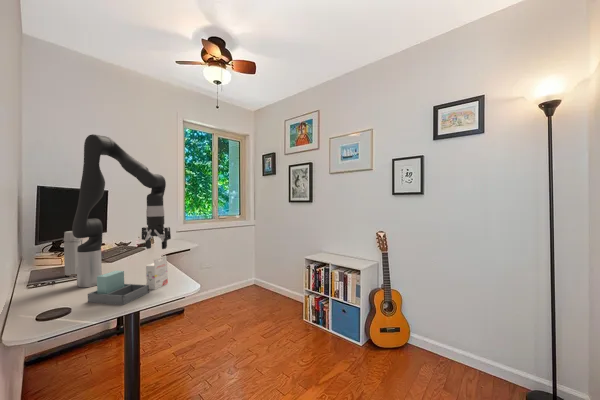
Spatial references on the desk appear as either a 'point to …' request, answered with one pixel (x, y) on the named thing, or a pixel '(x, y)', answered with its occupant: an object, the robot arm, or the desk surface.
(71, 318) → the desk surface
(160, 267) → the ink cartridge box
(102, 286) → the teal block
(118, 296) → the cartridge holder
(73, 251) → the water bottle
